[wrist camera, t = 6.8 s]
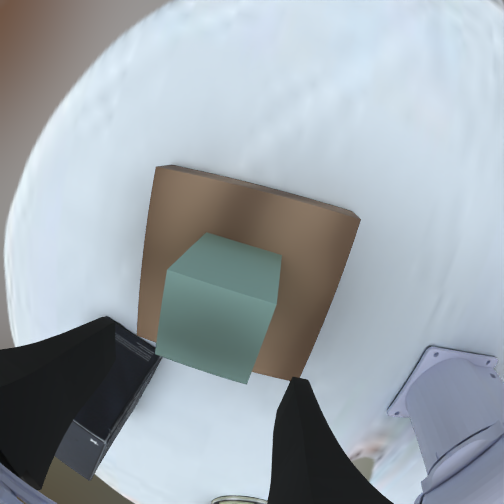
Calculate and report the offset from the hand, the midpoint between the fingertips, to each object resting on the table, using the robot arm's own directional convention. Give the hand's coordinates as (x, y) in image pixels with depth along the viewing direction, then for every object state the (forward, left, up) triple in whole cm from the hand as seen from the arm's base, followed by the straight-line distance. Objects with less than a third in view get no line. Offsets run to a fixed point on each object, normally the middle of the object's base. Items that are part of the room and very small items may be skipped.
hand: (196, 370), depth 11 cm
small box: (+9, +13, -11) cm, 19 cm away
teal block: (0, -1, -8) cm, 8 cm away
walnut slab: (0, 0, -10) cm, 10 cm away
